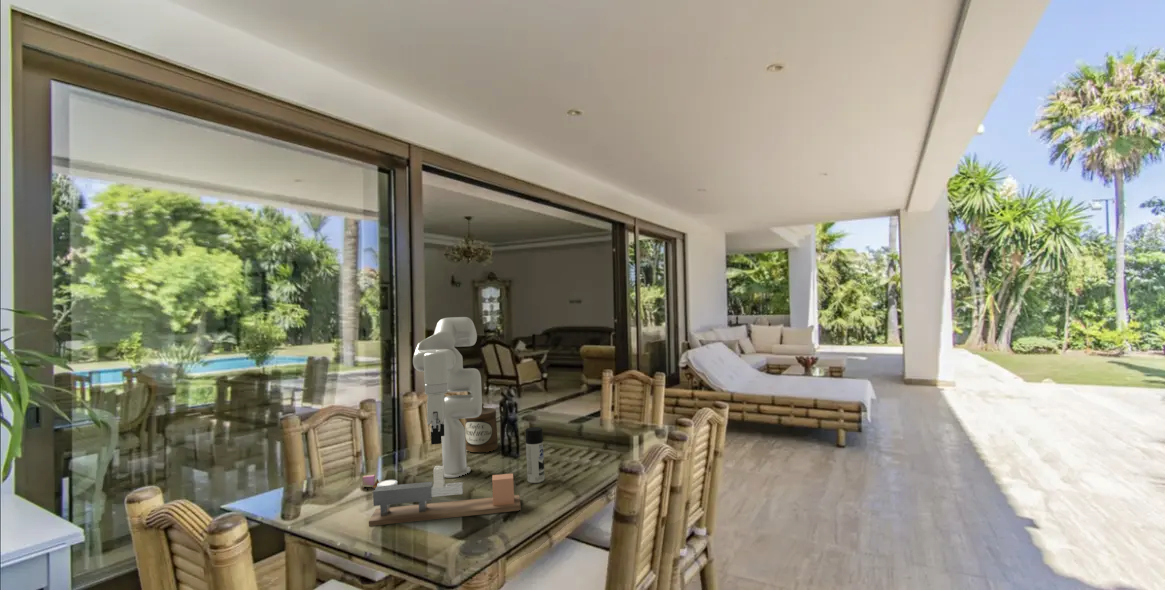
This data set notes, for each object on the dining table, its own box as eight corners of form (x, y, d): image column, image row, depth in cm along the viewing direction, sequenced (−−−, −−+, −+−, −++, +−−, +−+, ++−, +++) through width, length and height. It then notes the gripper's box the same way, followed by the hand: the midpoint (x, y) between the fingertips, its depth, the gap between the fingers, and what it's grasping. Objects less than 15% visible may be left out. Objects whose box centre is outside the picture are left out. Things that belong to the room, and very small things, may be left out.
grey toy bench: (377, 511, 171) (376, 486, 171) (433, 506, 174) (432, 481, 174) (373, 517, 167) (373, 491, 167) (431, 511, 170) (430, 486, 170)
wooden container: (461, 453, 239) (459, 406, 239) (473, 444, 254) (471, 399, 254) (491, 453, 237) (489, 405, 237) (501, 444, 251) (500, 399, 251)
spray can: (541, 484, 196) (539, 431, 196) (524, 483, 197) (522, 430, 197) (546, 477, 202) (544, 426, 202) (530, 477, 203) (528, 426, 204)
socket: (493, 500, 178) (492, 475, 178) (513, 497, 179) (512, 473, 179) (493, 505, 173) (492, 480, 173) (514, 503, 174) (513, 478, 174)
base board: (376, 513, 174) (376, 508, 174) (519, 499, 182) (519, 494, 182) (368, 526, 164) (368, 521, 164) (520, 510, 172) (520, 505, 172)
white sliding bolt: (379, 498, 171) (378, 471, 171) (463, 490, 176) (462, 463, 176) (376, 502, 167) (375, 475, 167) (462, 494, 172) (461, 467, 172)
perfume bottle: (356, 493, 193) (356, 481, 193) (363, 483, 205) (363, 471, 205) (390, 490, 196) (390, 478, 196) (395, 479, 208) (394, 468, 208)
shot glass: (378, 507, 178) (378, 487, 178) (376, 501, 184) (375, 481, 184) (399, 503, 182) (398, 483, 182) (396, 497, 188) (396, 478, 188)
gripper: (428, 385, 181) (429, 434, 180) (420, 393, 163) (422, 448, 163) (450, 384, 182) (451, 432, 182) (445, 392, 165) (447, 446, 165)
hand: (438, 439), depth 172 cm, fingers open, 9 cm apart
